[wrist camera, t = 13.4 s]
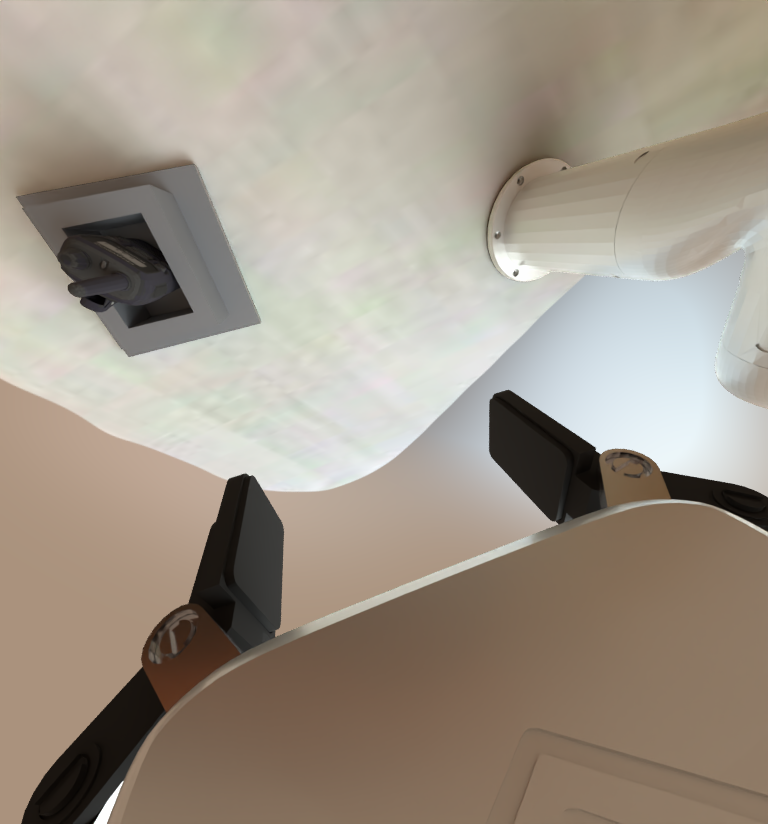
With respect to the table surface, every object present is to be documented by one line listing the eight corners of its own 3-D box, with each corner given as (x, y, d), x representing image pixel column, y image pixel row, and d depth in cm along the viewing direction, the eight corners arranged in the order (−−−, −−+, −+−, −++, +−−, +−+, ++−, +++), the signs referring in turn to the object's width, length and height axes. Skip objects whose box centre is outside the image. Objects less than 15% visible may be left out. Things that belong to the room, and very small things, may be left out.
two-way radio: (195, 269, 29) (119, 287, 16) (177, 307, 30) (93, 352, 17) (129, 228, 26) (-22, 213, 14) (112, 272, 27) (-43, 295, 15)
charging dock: (197, 166, 26) (172, 146, 21) (261, 321, 34) (254, 335, 28) (25, 198, 24) (-51, 185, 19) (133, 354, 32) (100, 376, 26)
